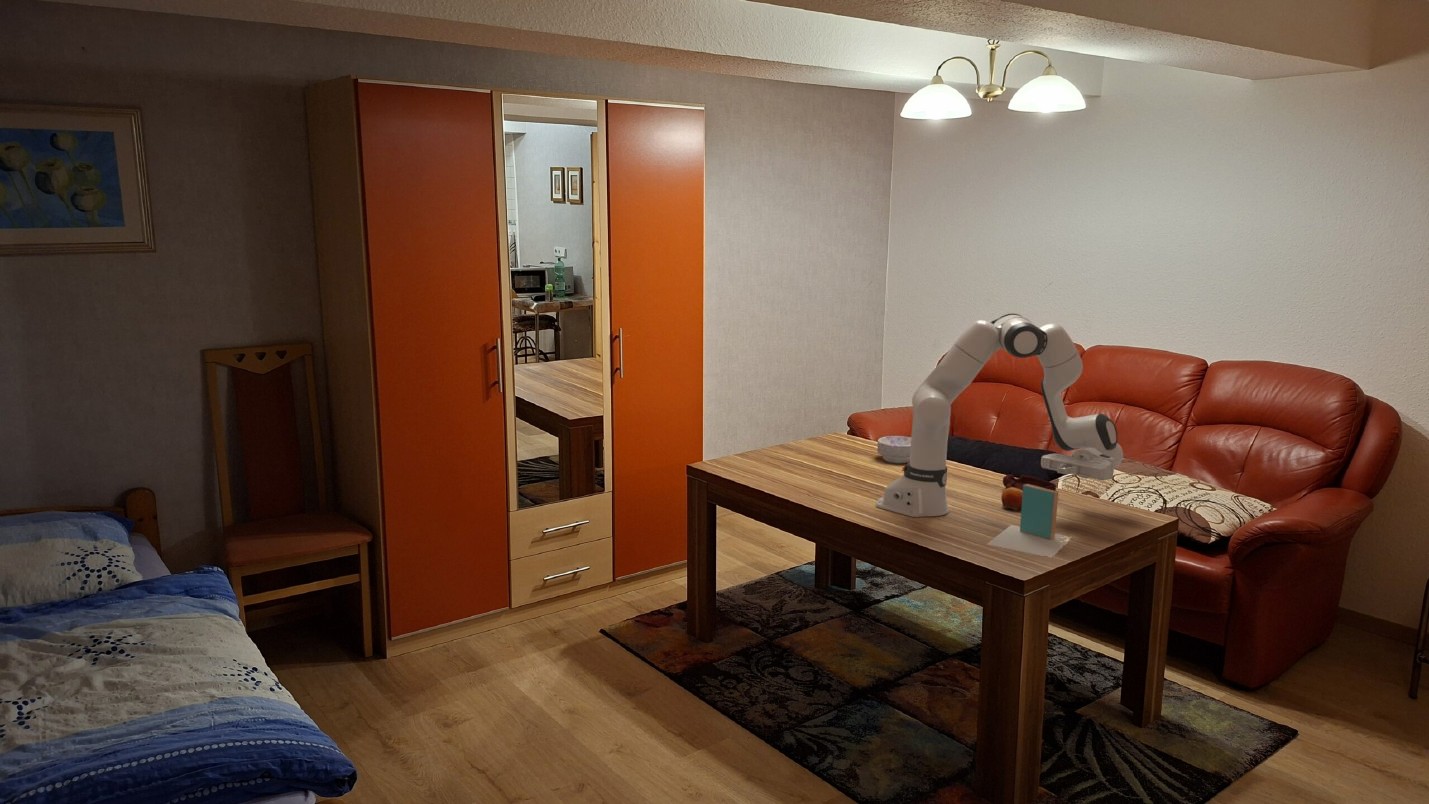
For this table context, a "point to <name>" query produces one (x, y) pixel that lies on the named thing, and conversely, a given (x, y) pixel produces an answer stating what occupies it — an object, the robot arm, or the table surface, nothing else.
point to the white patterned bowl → (895, 449)
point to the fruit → (1012, 498)
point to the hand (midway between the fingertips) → (1061, 470)
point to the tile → (1039, 511)
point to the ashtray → (1026, 482)
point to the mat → (1027, 542)
